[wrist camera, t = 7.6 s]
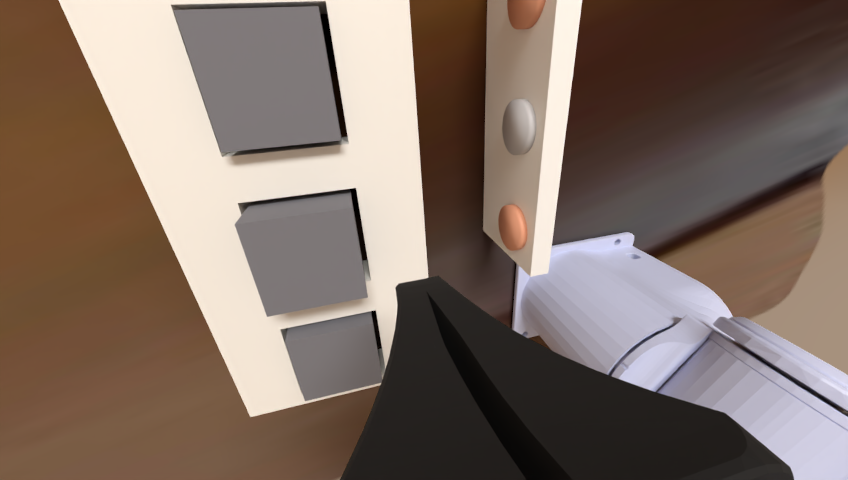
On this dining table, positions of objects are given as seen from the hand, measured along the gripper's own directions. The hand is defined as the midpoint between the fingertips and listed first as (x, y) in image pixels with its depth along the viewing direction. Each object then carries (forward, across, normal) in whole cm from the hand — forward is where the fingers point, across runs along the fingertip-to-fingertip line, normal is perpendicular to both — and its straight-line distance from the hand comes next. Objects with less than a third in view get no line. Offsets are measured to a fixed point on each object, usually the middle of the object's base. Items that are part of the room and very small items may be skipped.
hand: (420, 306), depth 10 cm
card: (+10, -7, -4) cm, 13 cm away
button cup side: (+10, +4, +8) cm, 14 cm away
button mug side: (+10, +4, -7) cm, 13 cm away
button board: (+10, +4, +1) cm, 11 cm away
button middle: (+9, +4, +1) cm, 10 cm away
